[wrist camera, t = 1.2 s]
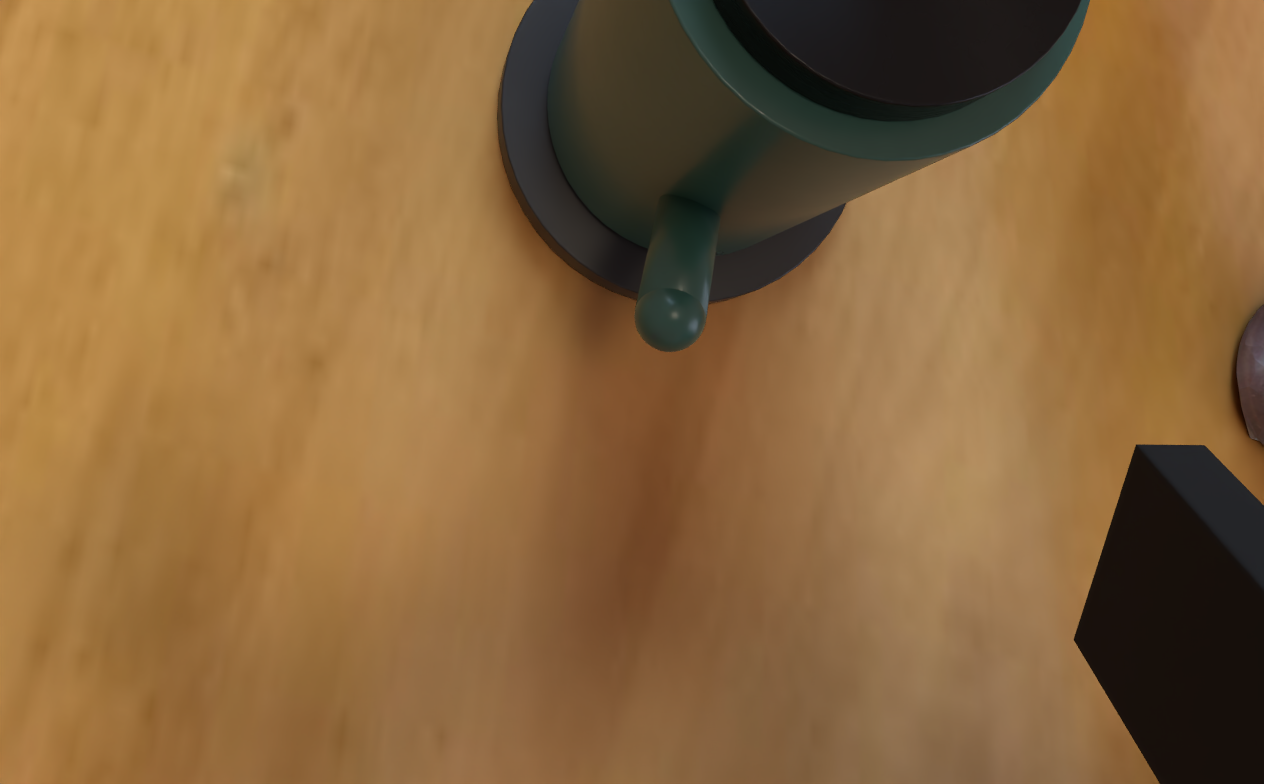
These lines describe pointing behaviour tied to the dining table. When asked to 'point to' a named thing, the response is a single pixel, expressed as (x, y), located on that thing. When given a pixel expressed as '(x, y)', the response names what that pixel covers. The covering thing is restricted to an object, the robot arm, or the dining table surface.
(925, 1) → the kettle
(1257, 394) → the mortar and pestle
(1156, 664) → the robot arm
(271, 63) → the dining table surface
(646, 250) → the kettle base
